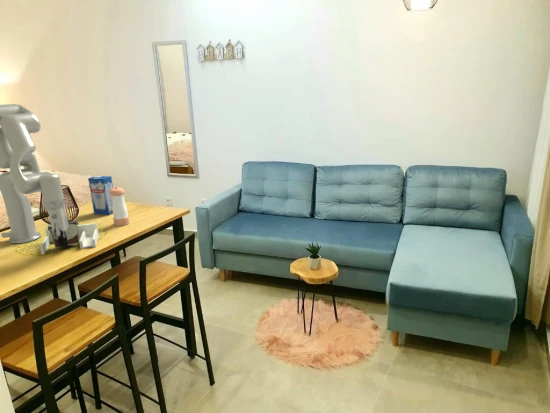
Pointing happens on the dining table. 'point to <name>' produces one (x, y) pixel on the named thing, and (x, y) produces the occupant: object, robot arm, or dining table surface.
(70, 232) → the food container
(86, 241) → the rack
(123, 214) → the pepper shaker
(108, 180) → the milk carton
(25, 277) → the dining table surface
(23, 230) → the robot arm
